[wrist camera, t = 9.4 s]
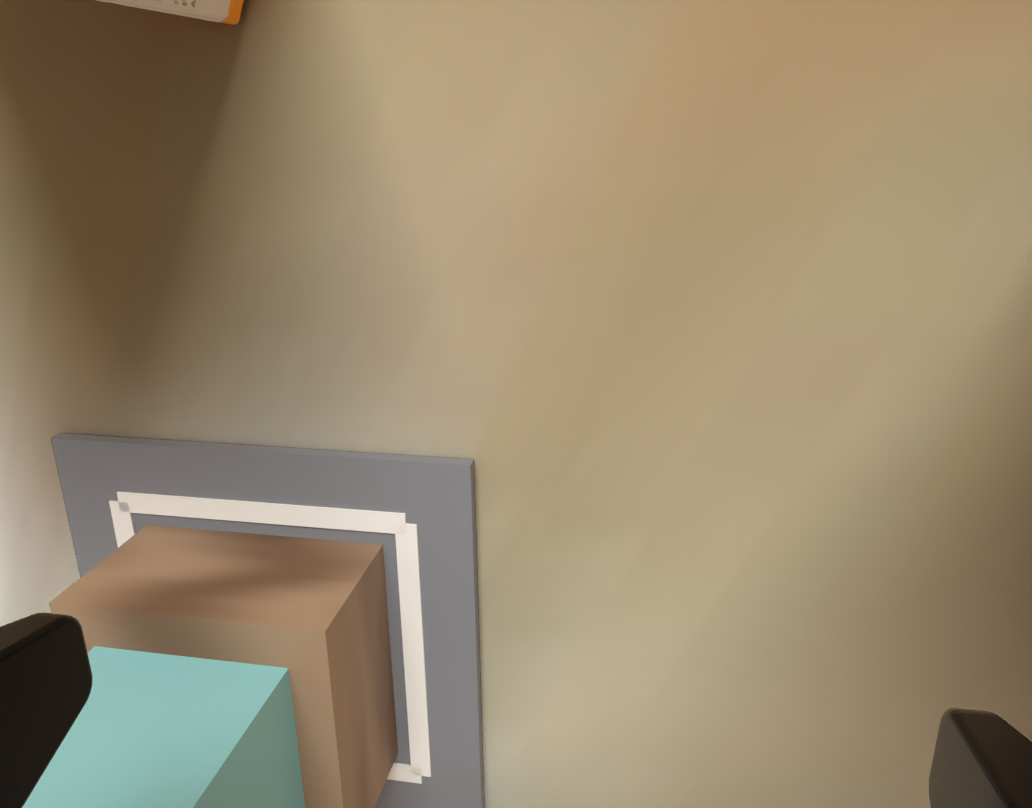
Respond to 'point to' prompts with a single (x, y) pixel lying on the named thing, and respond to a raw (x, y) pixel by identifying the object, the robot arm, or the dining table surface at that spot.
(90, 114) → the dining table surface
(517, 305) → the dining table surface
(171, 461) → the mat
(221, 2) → the supplement box
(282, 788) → the teal cube
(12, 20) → the dining table surface
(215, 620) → the walnut block
